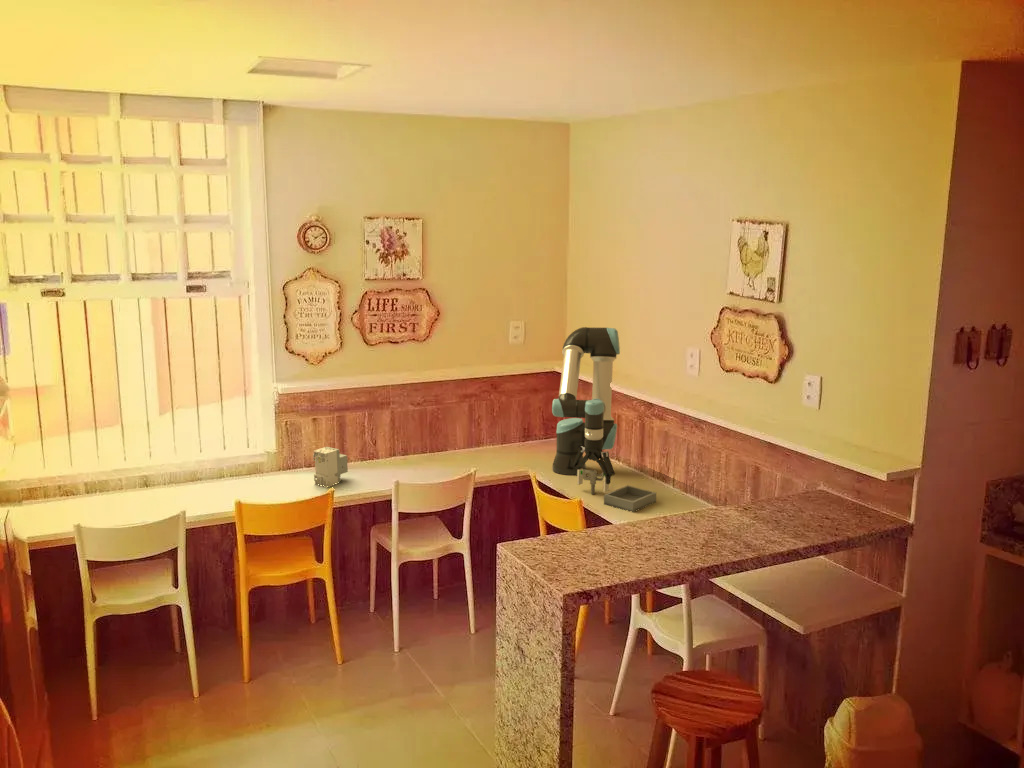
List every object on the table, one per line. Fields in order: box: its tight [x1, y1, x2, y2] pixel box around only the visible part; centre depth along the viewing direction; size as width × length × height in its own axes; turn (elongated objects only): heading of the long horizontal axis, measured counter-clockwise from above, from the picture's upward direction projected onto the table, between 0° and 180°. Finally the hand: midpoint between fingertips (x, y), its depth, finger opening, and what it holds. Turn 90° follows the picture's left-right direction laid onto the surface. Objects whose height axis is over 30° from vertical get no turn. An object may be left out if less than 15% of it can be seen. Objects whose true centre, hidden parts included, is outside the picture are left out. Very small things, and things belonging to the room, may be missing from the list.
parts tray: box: [603, 484, 657, 513], centre depth 357 cm, size 16×14×4 cm
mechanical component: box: [581, 468, 605, 495], centre depth 367 cm, size 3×10×10 cm, turn 78°
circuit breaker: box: [312, 446, 349, 488], centre depth 383 cm, size 8×14×15 cm, turn 146°
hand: (592, 487), depth 368 cm, fingers open, 13 cm apart
